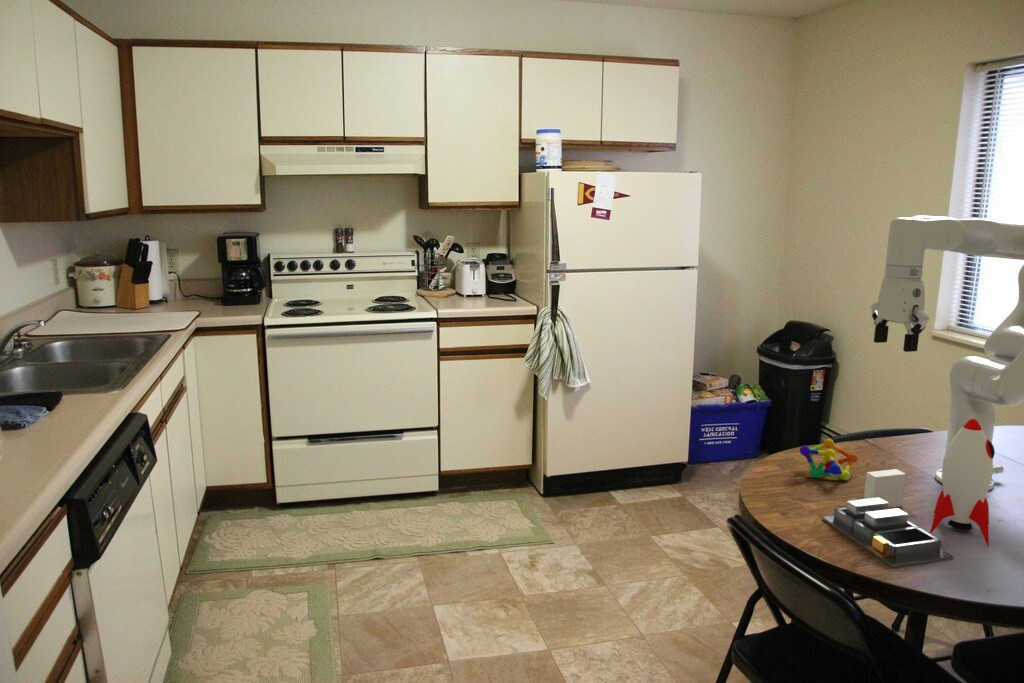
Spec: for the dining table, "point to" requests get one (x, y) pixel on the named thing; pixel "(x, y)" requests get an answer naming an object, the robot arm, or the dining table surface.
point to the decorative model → (829, 460)
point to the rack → (886, 533)
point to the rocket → (966, 480)
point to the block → (886, 486)
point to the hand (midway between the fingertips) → (894, 346)
